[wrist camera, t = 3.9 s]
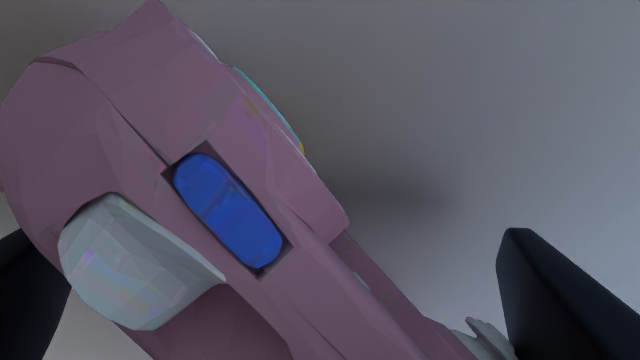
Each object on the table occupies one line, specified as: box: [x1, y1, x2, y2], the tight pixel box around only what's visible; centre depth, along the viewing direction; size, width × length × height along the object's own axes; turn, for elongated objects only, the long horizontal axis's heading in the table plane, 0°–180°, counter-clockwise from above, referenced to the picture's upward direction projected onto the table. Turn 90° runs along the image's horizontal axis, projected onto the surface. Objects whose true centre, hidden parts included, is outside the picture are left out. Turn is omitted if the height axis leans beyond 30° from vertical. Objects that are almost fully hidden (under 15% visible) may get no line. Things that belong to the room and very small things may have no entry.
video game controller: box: [0, 0, 518, 360], centre depth 8 cm, size 10×5×7 cm, turn 35°
